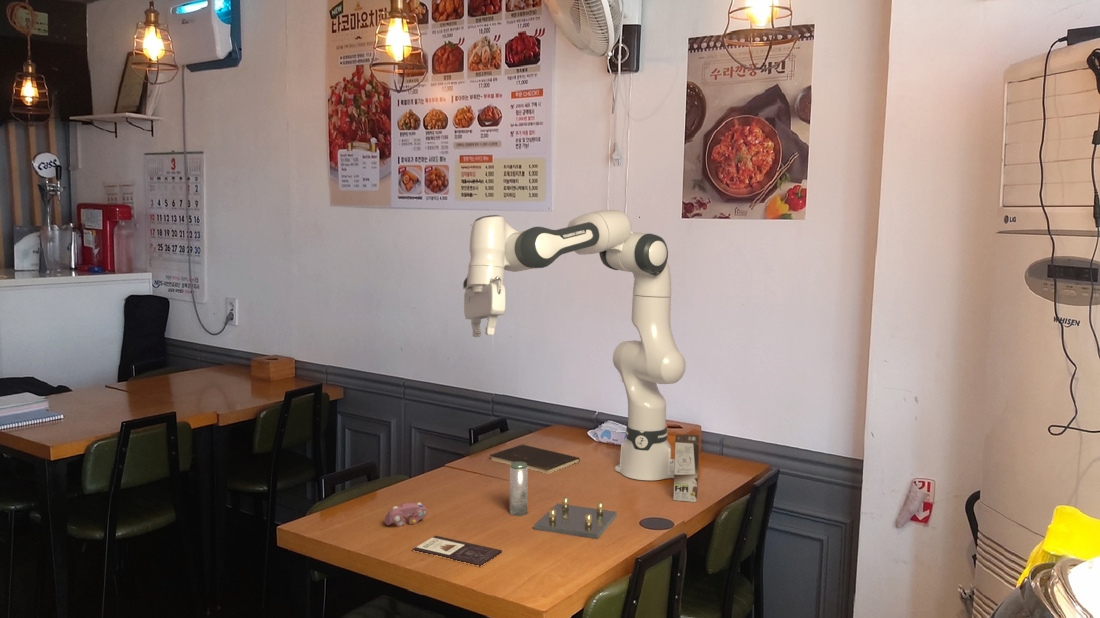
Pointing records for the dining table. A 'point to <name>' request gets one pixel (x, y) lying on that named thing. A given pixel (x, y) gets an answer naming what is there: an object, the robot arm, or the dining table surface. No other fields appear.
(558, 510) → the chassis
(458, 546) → the chocolate bar
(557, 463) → the hardcover book
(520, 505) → the canister
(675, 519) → the dining table surface
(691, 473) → the coffee box
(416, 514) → the video game controller
